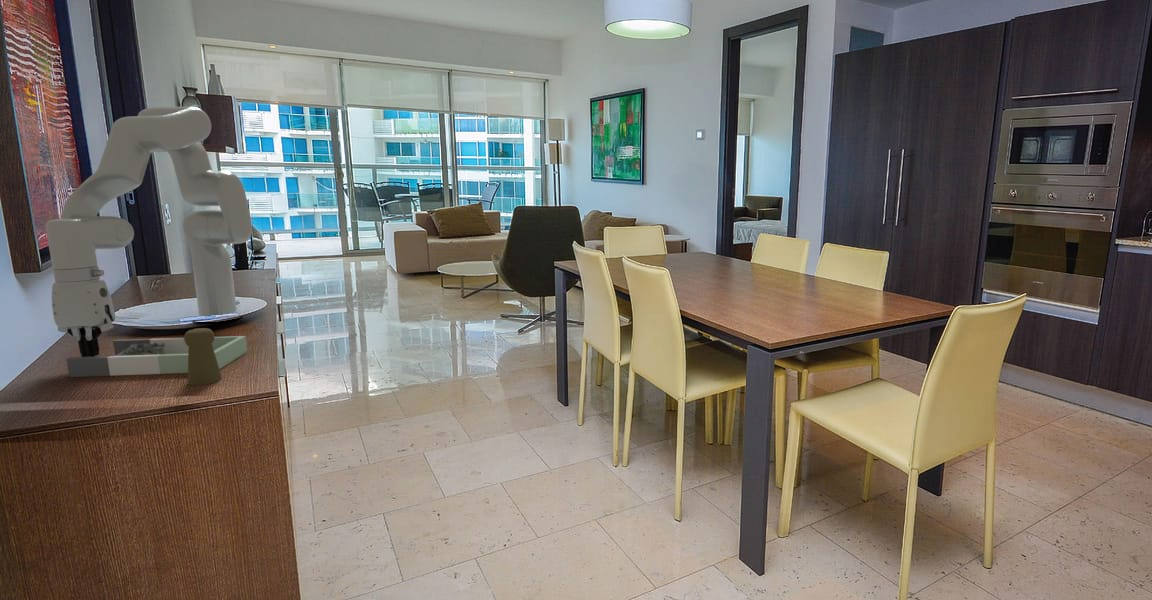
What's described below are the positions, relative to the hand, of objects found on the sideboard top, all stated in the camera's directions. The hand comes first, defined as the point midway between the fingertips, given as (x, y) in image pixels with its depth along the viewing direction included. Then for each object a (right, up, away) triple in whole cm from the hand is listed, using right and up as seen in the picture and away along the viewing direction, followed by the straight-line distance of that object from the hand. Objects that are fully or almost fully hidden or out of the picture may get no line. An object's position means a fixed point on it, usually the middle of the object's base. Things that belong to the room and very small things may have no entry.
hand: (90, 356), depth 131 cm
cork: (+32, -4, -10) cm, 34 cm away
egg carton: (+13, -3, +2) cm, 14 cm away
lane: (+15, -2, +2) cm, 15 cm away
